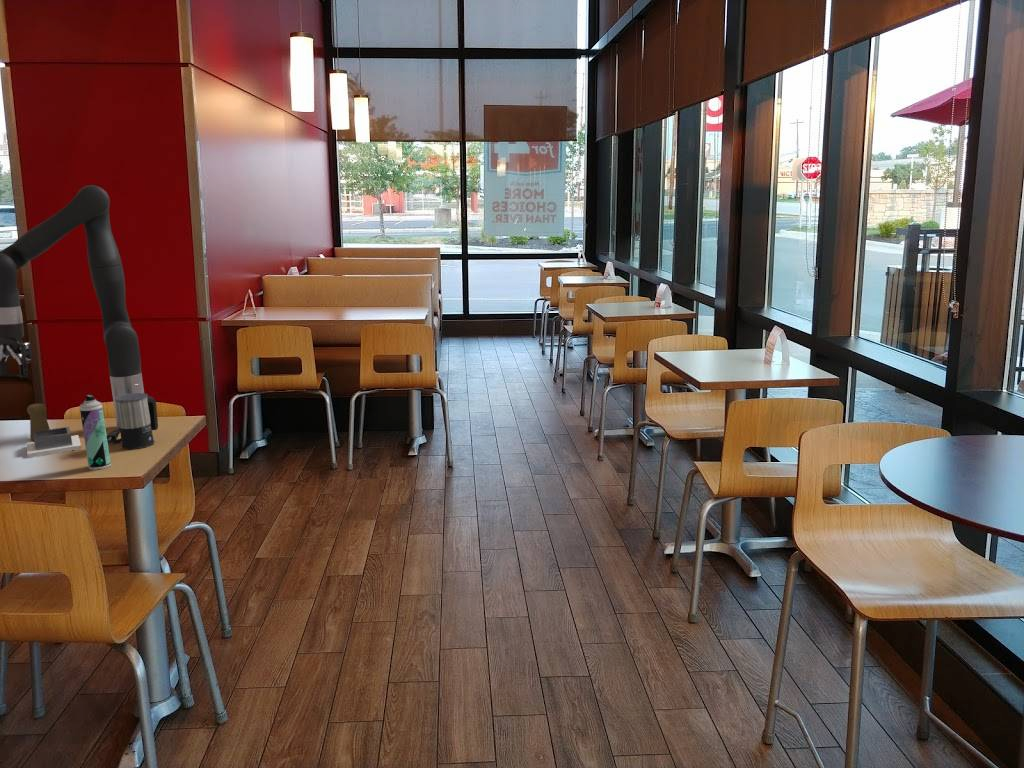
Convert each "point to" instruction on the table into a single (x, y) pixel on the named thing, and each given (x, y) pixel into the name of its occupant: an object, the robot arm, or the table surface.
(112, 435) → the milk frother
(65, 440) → the socket collar
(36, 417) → the cork
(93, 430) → the spray can
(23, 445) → the table surface
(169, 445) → the table surface
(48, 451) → the socket base
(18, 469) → the table surface
